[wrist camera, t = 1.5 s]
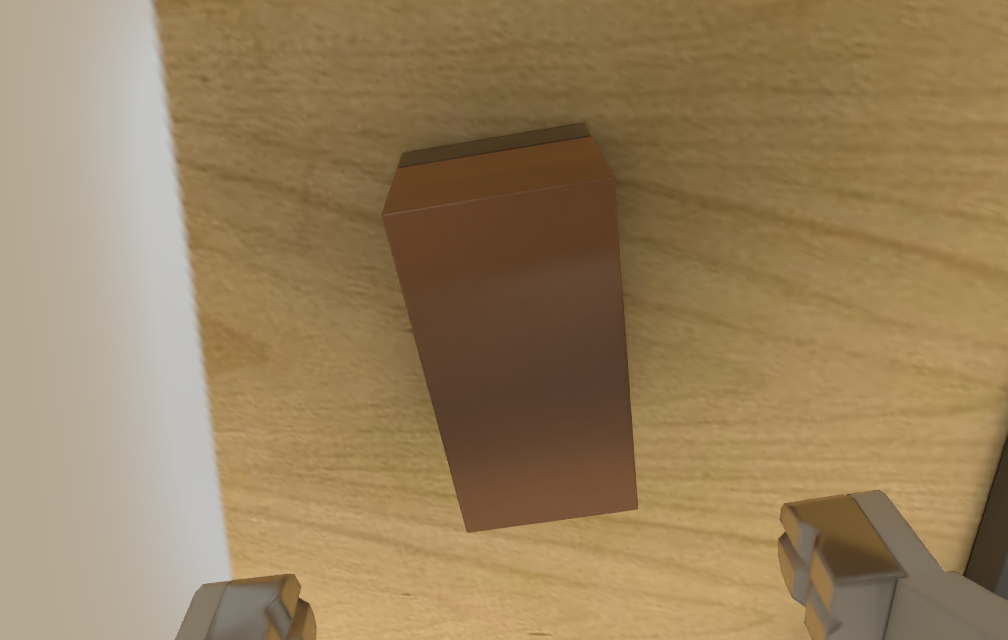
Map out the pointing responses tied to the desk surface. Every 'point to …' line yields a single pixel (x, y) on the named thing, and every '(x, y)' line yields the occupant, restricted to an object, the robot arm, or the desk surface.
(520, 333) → the eraser
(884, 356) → the desk surface
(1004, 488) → the whiteboard
